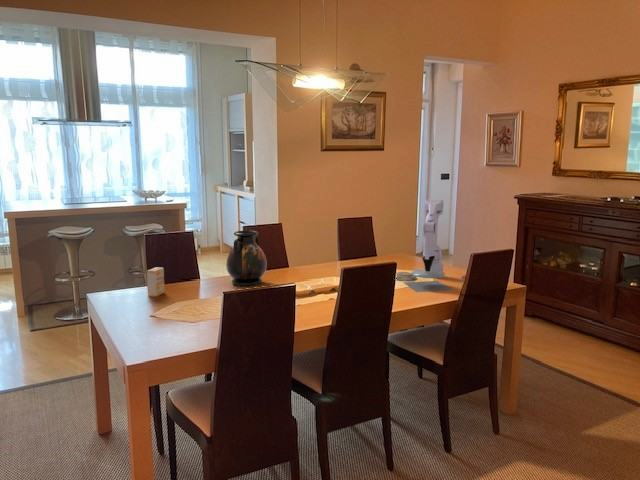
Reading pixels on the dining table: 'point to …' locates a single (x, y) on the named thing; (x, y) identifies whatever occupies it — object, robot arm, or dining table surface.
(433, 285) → the mat
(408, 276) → the decorative bowl
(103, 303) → the dining table surface
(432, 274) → the lid
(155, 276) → the supplement box
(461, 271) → the dining table surface
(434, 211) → the robot arm
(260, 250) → the amphora vase
